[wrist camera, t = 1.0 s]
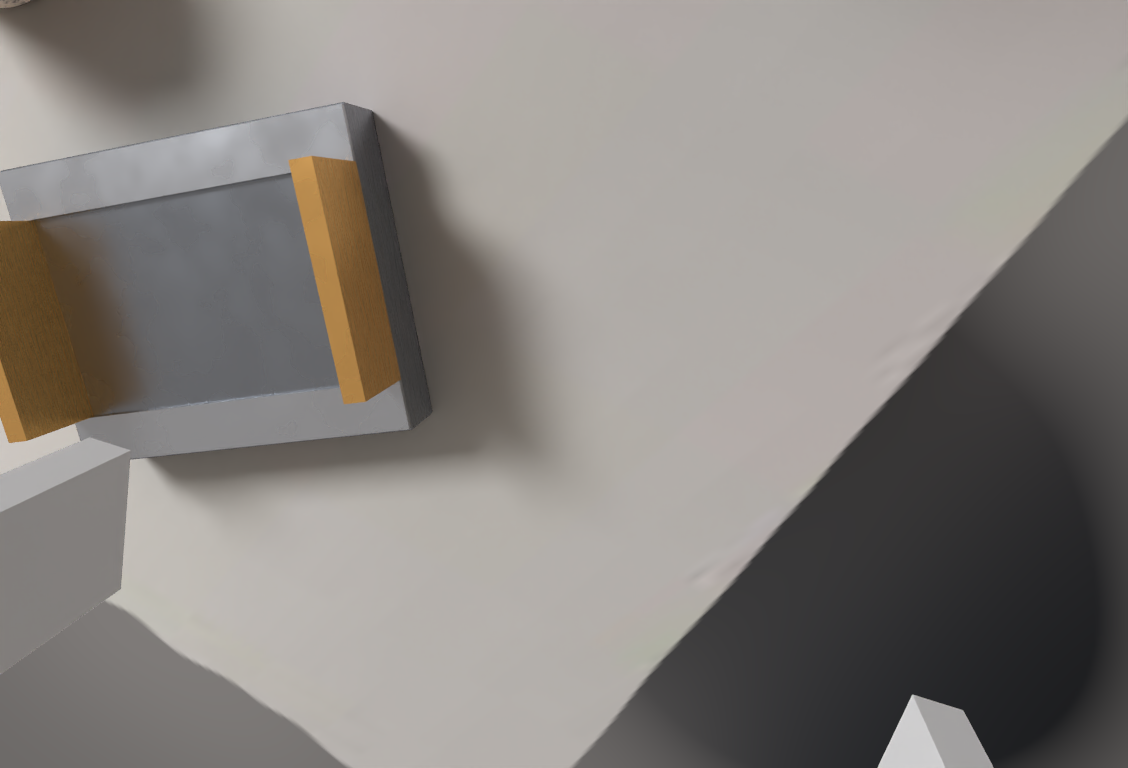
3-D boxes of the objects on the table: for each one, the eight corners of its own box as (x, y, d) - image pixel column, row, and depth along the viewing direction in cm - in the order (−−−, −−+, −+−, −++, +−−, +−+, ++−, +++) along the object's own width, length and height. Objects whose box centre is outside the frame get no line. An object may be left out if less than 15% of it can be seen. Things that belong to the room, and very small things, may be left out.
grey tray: (52, 173, 38) (-85, 167, 31) (371, 110, 34) (296, 88, 28) (133, 445, 41) (25, 492, 34) (432, 412, 38) (377, 457, 31)
